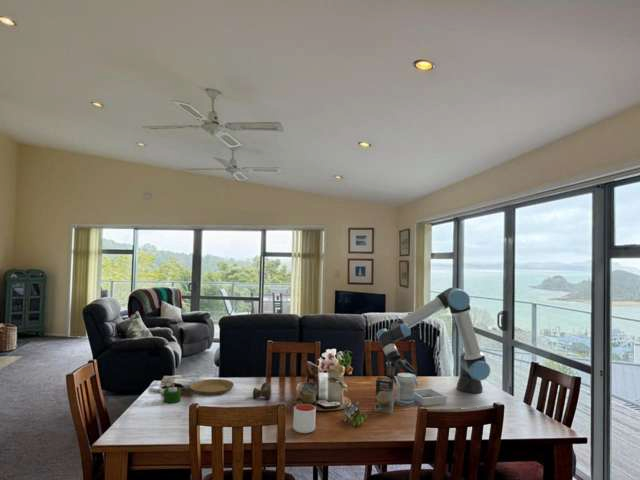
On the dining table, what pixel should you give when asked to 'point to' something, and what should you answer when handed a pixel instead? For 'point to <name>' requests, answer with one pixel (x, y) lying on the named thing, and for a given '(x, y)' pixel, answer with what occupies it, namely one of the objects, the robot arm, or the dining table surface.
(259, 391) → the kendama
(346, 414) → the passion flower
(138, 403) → the dining table surface
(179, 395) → the candle
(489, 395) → the dining table surface
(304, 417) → the cup
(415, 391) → the open box
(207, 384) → the plant saucer
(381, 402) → the coffee box
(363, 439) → the dining table surface
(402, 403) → the slate mat
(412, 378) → the supplement tub
